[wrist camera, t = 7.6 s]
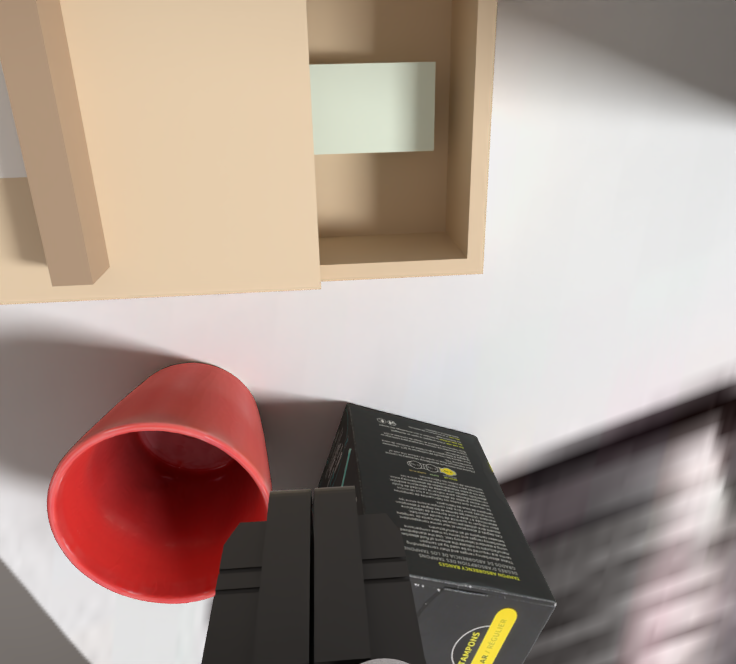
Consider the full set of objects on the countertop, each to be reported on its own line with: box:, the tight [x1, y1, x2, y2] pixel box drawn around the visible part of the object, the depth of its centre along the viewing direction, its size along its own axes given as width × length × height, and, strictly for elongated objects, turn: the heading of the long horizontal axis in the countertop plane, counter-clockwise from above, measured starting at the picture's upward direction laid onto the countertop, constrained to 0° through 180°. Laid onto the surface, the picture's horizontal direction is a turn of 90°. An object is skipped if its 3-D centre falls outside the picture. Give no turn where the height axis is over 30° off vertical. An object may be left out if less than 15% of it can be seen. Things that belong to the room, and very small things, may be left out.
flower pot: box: [47, 363, 272, 604], centre depth 35 cm, size 11×11×10 cm
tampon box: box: [312, 403, 557, 664], centre depth 36 cm, size 11×9×15 cm
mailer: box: [306, 0, 498, 281], centre depth 30 cm, size 20×15×6 cm
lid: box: [0, 0, 321, 305], centre depth 25 cm, size 20×15×3 cm
